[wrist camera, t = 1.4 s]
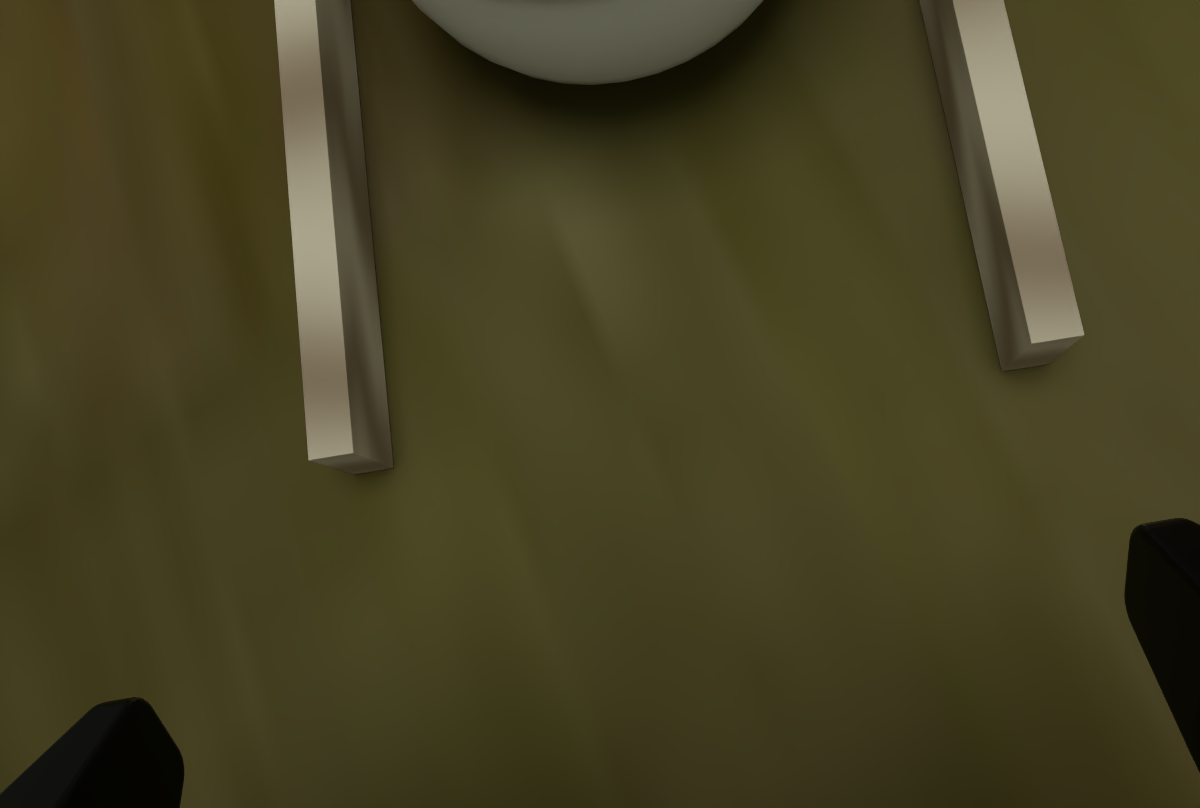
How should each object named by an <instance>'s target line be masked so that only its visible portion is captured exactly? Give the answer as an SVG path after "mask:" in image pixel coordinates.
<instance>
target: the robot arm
mask: <svg viewBox="0 0 1200 808" xmlns="http://www.w3.org/2000/svg"><path fill="white" fill-rule="evenodd" d="M1124 597H1125V605H1126V610H1127V614H1128V617H1129V620H1130V622H1131V625H1132V627H1133V629H1134V631H1135V633H1136V636H1137V638H1138V640H1139V642H1140V644H1141V647H1142V649H1143V651H1144V653H1145V655H1146V657H1147V660H1148V662H1149V664H1150V666H1151V668H1152V671H1153V673H1154V675H1155V677H1156V679H1157V682H1158V684H1159V686H1160V688H1161V690H1162V692H1163V695H1164V697H1165V699H1166V701H1167V703H1168V706H1169V708H1170V710H1171V712H1172V714H1173V716H1174V719H1175V721H1176V723H1177V725H1178V727H1179V730H1180V732H1181V734H1182V736H1183V738H1184V741H1185V743H1186V745H1187V747H1188V749H1189V751H1190V754H1191V756H1192V758H1193V760H1194V762H1195V764H1196V766H1197V768H1198V770H1199V772H1200V525H1199V524H1197V523H1195V522H1193V521H1191V520H1188V519H1184V518H1174V519H1168V520H1162V521H1156V522H1151V523H1145V524H1141V525H1139V526H1137V527H1135V528H1134V529H1133V531H1132V533H1131V536H1130V541H1129V551H1128V561H1127V572H1126V582H1125V595H1124ZM183 782H184V763H183V759H182V755H181V753H180V750H179V749H178V747H177V745H176V744H175V742H174V741H173V739H172V738H171V736H170V734H169V733H168V731H167V730H166V728H165V727H164V725H163V724H162V722H161V720H160V719H159V717H158V716H157V714H156V713H155V711H154V709H153V708H152V706H151V705H150V704H149V703H148V702H147V701H145V700H144V699H142V698H137V697H132V698H126V699H120V700H114V701H109V702H104V703H101V704H98V705H96V706H94V707H93V708H92V709H91V710H89V711H88V712H87V713H86V714H85V715H84V716H83V717H82V718H81V719H80V720H79V721H77V722H76V723H75V724H74V725H73V726H72V727H71V728H70V729H69V730H68V731H67V732H66V733H65V734H64V735H63V736H62V737H60V738H59V739H58V740H57V741H56V742H55V743H54V744H53V745H52V746H51V747H50V748H49V749H48V750H47V751H46V752H44V753H43V754H42V755H41V756H40V757H39V758H38V759H37V760H36V761H35V762H34V763H33V764H32V765H31V766H30V767H28V768H27V769H26V770H25V771H24V772H23V773H22V774H21V775H20V776H19V777H18V778H17V779H16V780H15V781H14V782H13V783H11V784H10V785H9V786H8V787H7V788H6V789H5V790H4V791H3V792H2V793H1V794H0V808H180V802H181V795H182V789H183Z"/></svg>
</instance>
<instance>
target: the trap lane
mask: <svg viewBox="0 0 1200 808" xmlns="http://www.w3.org/2000/svg"><path fill="white" fill-rule="evenodd" d="M919 2H920V6H921V11H922V15H923V20H924V24H925V29H926V33H927V38H928V42H929V47H930V51H931V56H932V60H933V65H934V69H935V74H936V78H937V83H938V87H939V92H940V96H941V101H942V105H943V110H944V114H945V119H946V123H947V128H948V132H949V137H950V141H951V146H952V150H953V155H954V159H955V164H956V168H957V173H958V177H959V182H960V186H961V191H962V195H963V200H964V204H965V209H966V213H967V218H968V222H969V227H970V231H971V235H972V240H973V244H974V249H975V253H976V258H977V262H978V267H979V271H980V276H981V280H982V285H983V289H984V294H985V298H986V303H987V307H988V312H989V316H990V321H991V325H992V330H993V334H994V339H995V343H996V348H997V352H998V357H999V361H1000V366H1001V370H1002V371H1008V370H1014V369H1020V368H1027V367H1033V366H1039V365H1046V364H1049V363H1050V362H1052V361H1053V360H1054V359H1055V358H1057V357H1058V356H1059V355H1060V354H1062V353H1063V352H1064V351H1065V350H1067V349H1068V348H1069V347H1070V346H1071V345H1073V344H1074V343H1075V342H1076V341H1078V340H1079V339H1080V338H1081V337H1083V336H1084V332H1083V327H1082V323H1081V319H1080V315H1079V311H1078V307H1077V303H1076V298H1075V294H1074V290H1073V286H1072V282H1071V278H1070V274H1069V269H1068V265H1067V261H1066V257H1065V253H1064V249H1063V245H1062V241H1061V236H1060V232H1059V228H1058V224H1057V220H1056V216H1055V212H1054V207H1053V203H1052V199H1051V195H1050V191H1049V187H1048V183H1047V178H1046V174H1045V170H1044V166H1043V162H1042V158H1041V154H1040V149H1039V145H1038V141H1037V137H1036V133H1035V129H1034V125H1033V121H1032V116H1031V112H1030V108H1029V104H1028V100H1027V96H1026V92H1025V87H1024V83H1023V79H1022V75H1021V71H1020V67H1019V63H1018V58H1017V54H1016V50H1015V46H1014V42H1013V38H1012V34H1011V30H1010V25H1009V21H1008V17H1007V13H1006V9H1005V5H1004V1H1003V0H919ZM274 3H275V16H276V29H277V43H278V56H279V69H280V83H281V96H282V110H283V123H284V136H285V150H286V163H287V176H288V190H289V203H290V217H291V230H292V243H293V257H294V270H295V283H296V297H297V310H298V323H299V337H300V350H301V364H302V377H303V390H304V404H305V417H306V430H307V444H308V457H309V460H310V461H313V462H316V463H319V464H322V465H325V466H329V467H332V468H335V469H338V470H341V471H344V472H348V473H351V474H359V473H365V472H371V471H378V470H384V469H390V468H394V467H393V456H392V445H391V434H390V424H389V413H388V402H387V391H386V380H385V369H384V358H383V348H382V337H381V326H380V315H379V304H378V293H377V283H376V272H375V261H374V250H373V239H372V228H371V218H370V207H369V196H368V185H367V174H366V163H365V152H364V142H363V131H362V120H361V109H360V98H359V87H358V77H357V66H356V55H355V44H354V33H353V22H352V11H351V1H350V0H274Z"/></svg>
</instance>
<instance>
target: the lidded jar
mask: <svg viewBox="0 0 1200 808" xmlns="http://www.w3.org/2000/svg"><path fill="white" fill-rule="evenodd" d="M412 1H413V2H414V4H415V5H416V6H417V7H418V8H419V9H420V10H421V11H422V12H423V13H424V14H426V15H427V16H428V17H429V18H430V19H431V20H433V21H434V22H435V23H436V24H437V25H439V26H440V27H441V28H442V29H443V30H445V31H446V32H447V33H448V34H450V35H451V36H452V37H453V38H454V39H456V40H457V41H458V42H459V43H460V44H462V45H463V46H465V47H466V48H468V49H470V50H472V51H473V52H475V53H477V54H479V55H480V56H482V57H484V58H485V59H487V60H489V61H491V62H493V63H496V64H498V65H501V66H503V67H505V68H508V69H511V70H513V71H516V72H519V73H522V74H524V75H527V76H530V77H532V78H537V79H542V80H547V81H552V82H557V83H563V84H585V85H597V84H607V83H617V82H626V81H630V80H634V79H638V78H642V77H646V76H650V75H654V74H658V73H660V72H663V71H665V70H668V69H670V68H672V67H675V66H677V65H680V64H682V63H685V62H687V61H689V60H691V59H692V58H694V57H696V56H698V55H699V54H701V53H703V52H704V51H706V50H708V49H710V48H711V47H713V46H715V45H716V44H717V43H719V42H720V41H721V40H723V39H724V38H725V37H726V36H728V35H729V34H730V33H731V32H733V31H734V30H735V29H736V28H738V27H739V26H740V25H741V24H742V23H743V22H744V21H745V20H746V19H747V18H748V17H749V16H750V15H751V14H752V13H753V11H754V10H755V9H756V8H757V7H758V6H759V5H760V4H761V3H762V2H763V1H764V0H412Z"/></svg>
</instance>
